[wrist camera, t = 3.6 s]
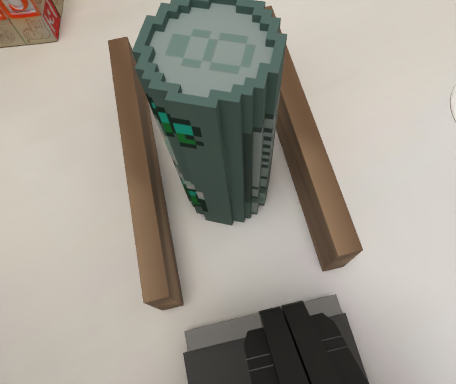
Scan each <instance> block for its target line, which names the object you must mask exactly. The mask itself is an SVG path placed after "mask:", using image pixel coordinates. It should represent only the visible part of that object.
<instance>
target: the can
mask: <svg viewBox="0 0 456 384" xmlns="http://www.w3.org/2000/svg"><path fill="white" fill-rule="evenodd" d="M272 16H273V10H270V9H265V2H263V1H255V0H171V3H170V4H167V3H161V4H160V7H159V9H158V12H157V14H156V16H149V15H147V16H146V18H145V21H144V23H143V26H142V28H141V31H140V33H139V35H138V38H137V40H136V43H135V45H134V48H133V50H132V53H133V56H134V58H135V61H136V63H137V65H136V67H135V70H136V72H137V75H138V77H139V80H140V82H141V84H142V87H143V89H144V92H145V94H146V97H147V99H148V101H149V104H150V106H151V109H152V111H153V114H154V116H155V118H156V121H157V123H158V126H159V128H160V131H161V133H162V135H163V138H164V140H165V143H166V145H167V148H168V150H169V152H170V155H171V157H172V160H173V162H174V165H175V167H176V169H177V172H178V174H179V177H180V179H181V182H182V184H183V186H184V189H185V191H186V194H187V196H188V199H189V201H191V203H192V205H193V207H195V209H196V212H197V213H200V214H204V216H205V219H206V220H209V221H213V222H218V223H223V224H228V225H232V224H233V220H234V221H239V222H244V220H245V218H251V213H252V214H257V211H258V206H259V205H263V206H264V204H265V199H266V194H267V189H268V184H269V178H270V170H271V162H272V153H273V145H274V137H275V129H276V121H277V113H278V105H279V96H280V88H281V80H282V72H283V64H284V56H285V47H286V39H287V34H282V33H279V31H280V21H281V18H275V17H272Z"/></svg>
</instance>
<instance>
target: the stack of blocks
mask: <svg viewBox="0 0 456 384" xmlns="http://www.w3.org/2000/svg"><path fill="white" fill-rule="evenodd" d="M62 7H63V0H0V47H7V46H16V45H25V44H37V43H46V42H54V41H58V35H59V25H60V17H61V15H62Z"/></svg>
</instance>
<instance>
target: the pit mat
mask: <svg viewBox="0 0 456 384" xmlns="http://www.w3.org/2000/svg"><path fill="white" fill-rule="evenodd" d="M304 304H305V306H306V308H307V311H308V313H309V315H314V314H319V313H324V314H325V315H326V316H327V317H329V318H330V319H331V320H333V321H334V322H335V324H336V325H337V327H338V329H339V331H340V333H341V335H342V337H343V338H344V340H345V342H346V344H347V346H348V348H349V349H350V351H351V353H352V355H353V356H354V358H355V360H356V362H357V364H358V365H359V367H360V369H361V371H362V373H363V375H364V376H365V378H366V380H367V382H368V379H367V376H366V373H365V370H364V367H363V364H362V361H361V358H360V355H359V352H358V349H357V346H356V343H355V340H354V337H353V334H352V331H351V328H350V325H349V322H348V319H347V316H346V313H343V314H342V311H341V308H340V305H339V302H338V299H337V296H336V294H335V295H331V296H327V297H323V298H319V299H315V300H311V301H307V302H304ZM258 328H262V325H261V320H260V315H259V313H258V314H254V315H250V316H246V317H241V318H237V319H233V320H229V321H225V322H221V323H217V324H213V325H209V326H205V327H201V328H196V329H192V330H188V331H185V337H186V343H187V349H188V351H189V352H185V353H183V355H184V361H185V367H186V373H187V379H188V384H252V382H251V377H250V372H249V368H248V363H247V358H246V353H245V349H244V341H245V338H246V334H247V331H250V330H254V329H258ZM368 384H369V382H368Z"/></svg>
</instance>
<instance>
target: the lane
mask: <svg viewBox="0 0 456 384" xmlns="http://www.w3.org/2000/svg"><path fill="white" fill-rule="evenodd" d="M265 9H270V10H273V9H272V6H268V7H265ZM272 17H275V14H274V11H273V16H272ZM275 18H276V17H275ZM279 33H281V30H280V31H279ZM108 45H109V52H110V60H111V67H112V74H113V82H114V89H115V96H116V104H117V111H118V119H119V126H120V133H121V141H122V148H123V155H124V163H125V170H126V177H127V185H128V192H129V199H130V207H131V214H132V222H133V229H134V236H135V244H136V251H137V258H138V266H139V273H140V280H141V288H142V295H143V302H144V303H145V304H148V305H150V306H153V307H155V308H158V309H160V310H166V309H170V308H174V307H178V306H183V299H182V294H181V288H180V282H179V277H178V271H177V265H176V259H175V254H174V248H173V242H172V237H171V231H170V225H169V220H168V214H167V208H166V202H165V197H164V191H163V185H162V180H161V174H160V168H159V162H158V157H157V151H156V145H155V140H154V134H153V128H152V123H151V117H150V111H149V105H148V100H147V97H146V94H145V92H144V89H143V87H142V84H141V82H140V80H139V77H138V75H137V72H136V70H135V67H136V65H137V63H136V61H135V58H134V56H133V53H132V48H131V45H130V43H129V40H128V38H127V37H123V38H118V39H113V40H109V41H108ZM276 130H277V133H278V136H279V139H280V142H281V145H282V148H283V151H284V154H285V157H286V160H287V163H288V167H289V170H290V173H291V176H292V179H293V182H294V185H295V188H296V191H297V194H298V197H299V200H300V203H301V207H302V210H303V213H304V216H305V219H306V222H307V225H308V228H309V231H310V234H311V237H312V240H313V243H314V247H315V250H316V253H317V256H318V259H319V262H320V265H321V268H322V271H327V270H331V269H335V268H340V267H343V266H345V265H346V264H347V263H348V262H349V261H350V260H352V259H353V258H354V257H355V256H356V255H358V254H359V253H360V252H361V251H362V250H363V249H362V246H361V243H360V241H359V238H358V235H357V233H356V230H355V227H354V225H353V222H352V219H351V217H350V214H349V211H348V209H347V206H346V203H345V201H344V198H343V195H342V193H341V190H340V187H339V185H338V182H337V179H336V177H335V174H334V171H333V169H332V166H331V163H330V161H329V158H328V155H327V153H326V150H325V147H324V145H323V142H322V139H321V137H320V134H319V131H318V129H317V126H316V123H315V121H314V118H313V115H312V113H311V110H310V107H309V105H308V102H307V99H306V97H305V94H304V91H303V89H302V86H301V83H300V81H299V78H298V75H297V73H296V70H295V67H294V65H293V62H292V59H291V57H290V54H289V51H288V49H287V46H286V47H285V56H284V64H283V72H282V80H281V88H280V96H279V105H278V113H277V121H276Z"/></svg>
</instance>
